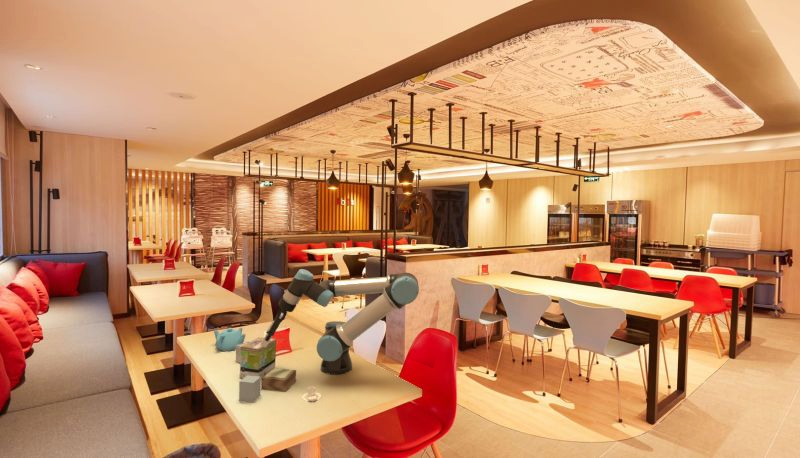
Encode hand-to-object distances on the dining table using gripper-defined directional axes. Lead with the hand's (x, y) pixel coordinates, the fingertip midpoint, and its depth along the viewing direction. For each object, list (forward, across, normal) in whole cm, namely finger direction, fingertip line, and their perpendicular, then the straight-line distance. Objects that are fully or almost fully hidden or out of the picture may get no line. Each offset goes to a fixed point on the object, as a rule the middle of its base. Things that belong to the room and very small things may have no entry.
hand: (265, 339), depth 184 cm
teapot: (+32, -40, -12) cm, 53 cm away
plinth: (+11, +10, +15) cm, 21 cm away
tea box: (+18, -3, +5) cm, 19 cm away
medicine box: (+24, -20, -2) cm, 31 cm away
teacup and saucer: (+4, +25, +25) cm, 35 cm away
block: (+14, +22, +6) cm, 27 cm away
